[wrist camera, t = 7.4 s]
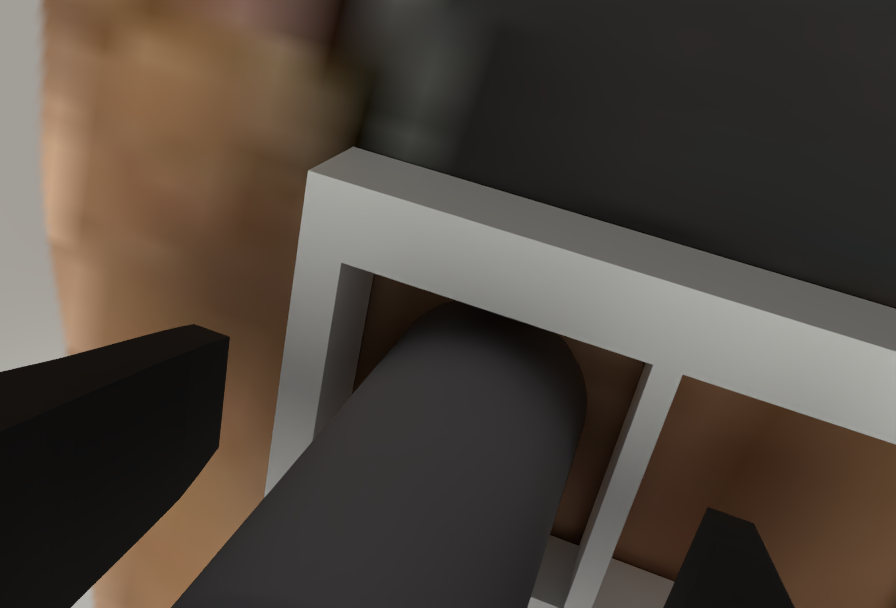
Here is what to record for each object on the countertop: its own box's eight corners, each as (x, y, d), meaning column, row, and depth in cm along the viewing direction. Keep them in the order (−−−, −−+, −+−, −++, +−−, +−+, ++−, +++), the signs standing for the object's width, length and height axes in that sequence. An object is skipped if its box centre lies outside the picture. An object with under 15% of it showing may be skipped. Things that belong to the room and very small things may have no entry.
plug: (557, 505, 14) (429, 918, 8) (378, 441, 15) (135, 780, 9) (611, 336, 13) (505, 686, 7) (409, 274, 14) (144, 541, 7)
